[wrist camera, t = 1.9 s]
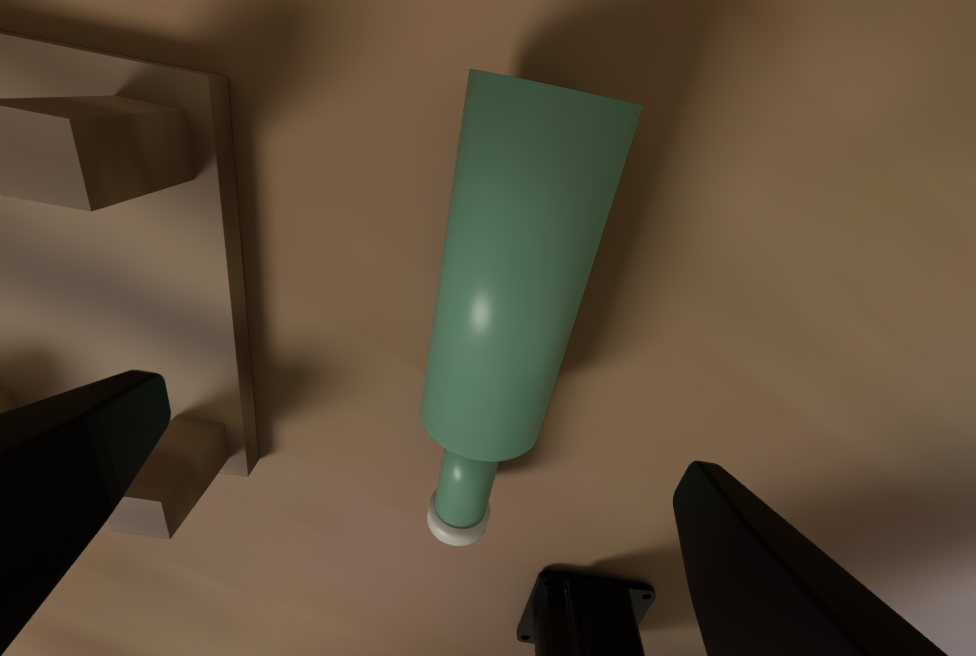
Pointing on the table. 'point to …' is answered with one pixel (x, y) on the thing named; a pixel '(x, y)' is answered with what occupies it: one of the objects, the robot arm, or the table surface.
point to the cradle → (126, 256)
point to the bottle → (513, 275)
